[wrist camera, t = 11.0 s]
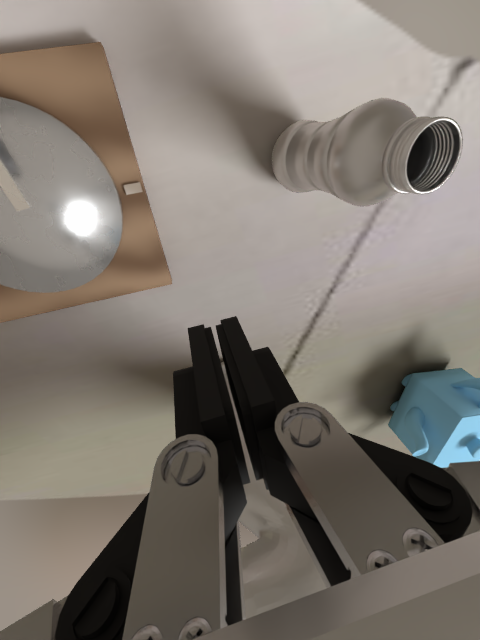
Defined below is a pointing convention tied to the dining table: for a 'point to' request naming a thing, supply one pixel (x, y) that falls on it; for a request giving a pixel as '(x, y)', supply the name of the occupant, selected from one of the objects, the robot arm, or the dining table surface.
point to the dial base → (114, 150)
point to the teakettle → (439, 416)
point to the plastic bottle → (368, 153)
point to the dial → (52, 204)
